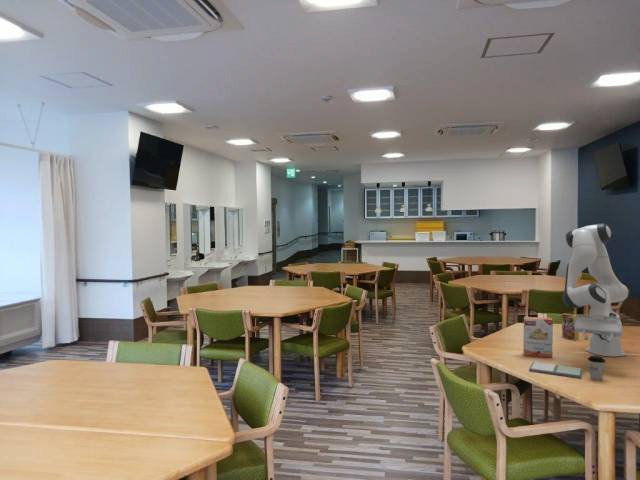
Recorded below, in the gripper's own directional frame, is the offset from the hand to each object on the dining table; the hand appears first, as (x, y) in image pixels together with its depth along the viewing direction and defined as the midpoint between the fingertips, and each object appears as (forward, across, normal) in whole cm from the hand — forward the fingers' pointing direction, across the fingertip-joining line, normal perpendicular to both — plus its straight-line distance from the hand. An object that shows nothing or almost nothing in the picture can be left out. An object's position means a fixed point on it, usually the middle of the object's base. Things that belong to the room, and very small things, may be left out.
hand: (597, 340), depth 218 cm
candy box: (-36, -21, +58) cm, 71 cm away
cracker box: (+1, -29, +20) cm, 36 cm away
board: (+18, -16, +4) cm, 24 cm away
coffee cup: (+19, +1, +3) cm, 19 cm away
